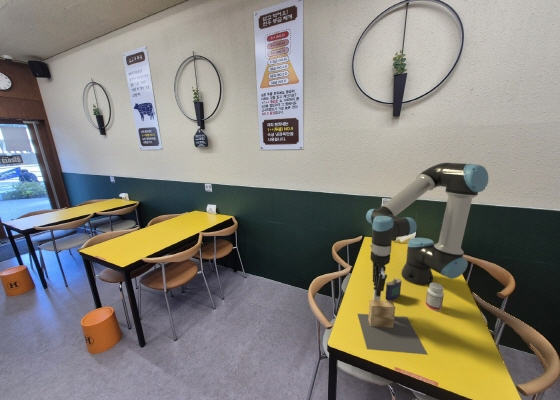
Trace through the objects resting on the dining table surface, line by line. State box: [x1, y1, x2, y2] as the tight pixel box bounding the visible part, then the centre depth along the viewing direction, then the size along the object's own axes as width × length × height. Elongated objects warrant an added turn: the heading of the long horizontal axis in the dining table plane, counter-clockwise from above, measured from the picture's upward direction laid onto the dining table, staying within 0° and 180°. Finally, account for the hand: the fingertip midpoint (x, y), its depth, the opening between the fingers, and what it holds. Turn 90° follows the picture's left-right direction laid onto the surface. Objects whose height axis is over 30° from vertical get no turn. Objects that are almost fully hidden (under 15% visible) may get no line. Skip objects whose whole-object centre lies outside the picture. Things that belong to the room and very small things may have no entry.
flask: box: [385, 277, 402, 301], centre depth 108 cm, size 9×3×11 cm, turn 114°
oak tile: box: [368, 299, 396, 328], centre depth 92 cm, size 9×4×10 cm, turn 82°
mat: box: [357, 313, 428, 355], centre depth 89 cm, size 21×18×1 cm
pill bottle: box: [425, 282, 445, 312], centre depth 101 cm, size 6×6×11 cm
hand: (376, 300), depth 99 cm, fingers closed
